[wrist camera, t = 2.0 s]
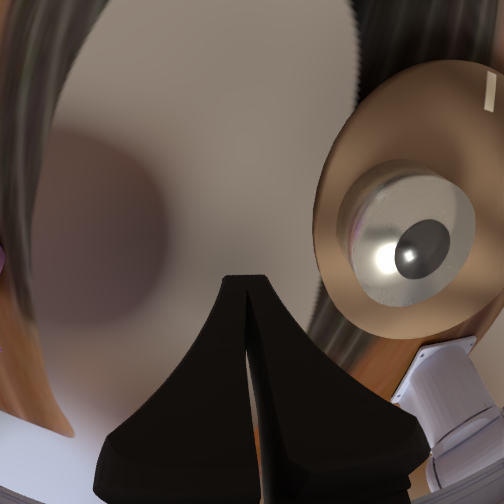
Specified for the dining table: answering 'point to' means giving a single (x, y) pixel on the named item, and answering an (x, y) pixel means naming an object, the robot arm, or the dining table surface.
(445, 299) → the turntable
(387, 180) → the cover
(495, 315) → the dining table surface
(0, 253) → the teakettle
